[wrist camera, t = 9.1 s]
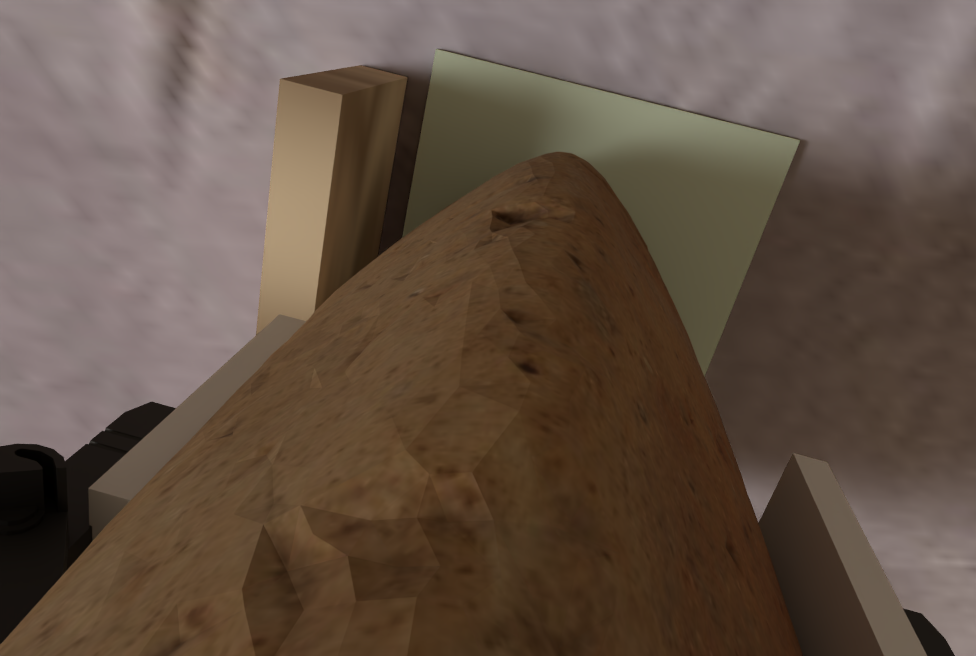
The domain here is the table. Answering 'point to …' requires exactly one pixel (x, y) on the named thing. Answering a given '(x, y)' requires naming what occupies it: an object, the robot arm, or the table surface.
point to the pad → (612, 171)
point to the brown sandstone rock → (451, 468)
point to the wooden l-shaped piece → (327, 185)
